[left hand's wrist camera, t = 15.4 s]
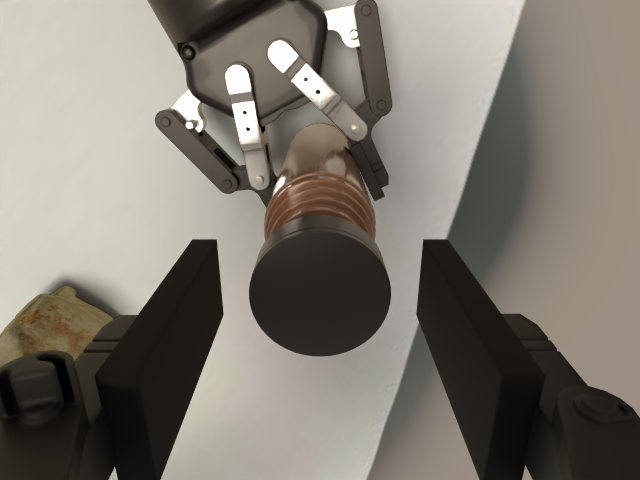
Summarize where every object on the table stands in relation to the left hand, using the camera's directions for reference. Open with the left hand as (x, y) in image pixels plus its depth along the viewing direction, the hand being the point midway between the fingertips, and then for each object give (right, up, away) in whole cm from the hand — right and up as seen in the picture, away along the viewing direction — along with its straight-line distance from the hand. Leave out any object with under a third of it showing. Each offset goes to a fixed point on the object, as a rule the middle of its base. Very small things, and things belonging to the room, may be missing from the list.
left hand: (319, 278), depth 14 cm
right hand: (+1, +3, +14) cm, 14 cm away
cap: (0, 0, -1) cm, 1 cm away
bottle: (0, +8, +19) cm, 20 cm away
